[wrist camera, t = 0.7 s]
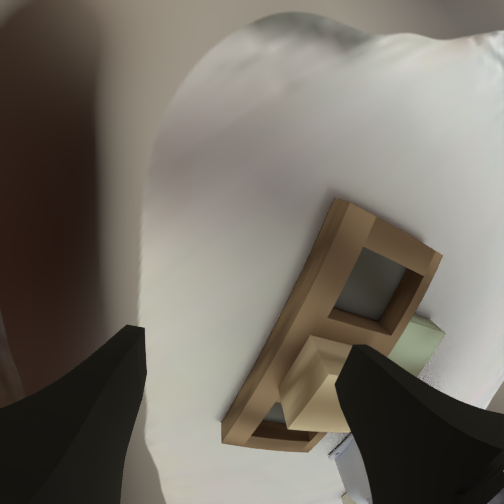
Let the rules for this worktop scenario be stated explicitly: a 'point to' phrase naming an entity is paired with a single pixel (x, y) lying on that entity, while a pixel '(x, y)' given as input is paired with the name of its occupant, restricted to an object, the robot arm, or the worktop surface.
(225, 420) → the tray
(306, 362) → the birch block
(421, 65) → the worktop surface
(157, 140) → the worktop surface
